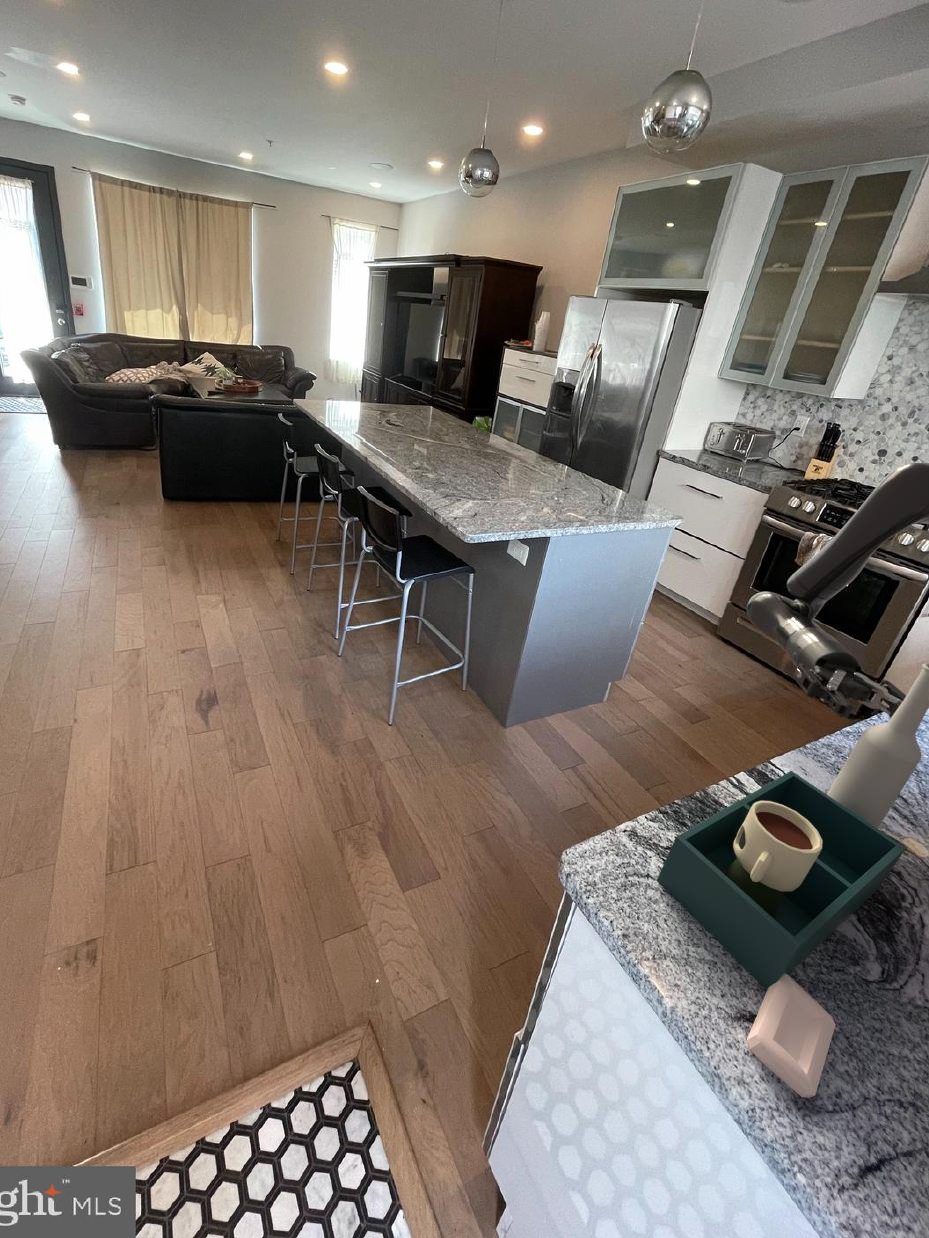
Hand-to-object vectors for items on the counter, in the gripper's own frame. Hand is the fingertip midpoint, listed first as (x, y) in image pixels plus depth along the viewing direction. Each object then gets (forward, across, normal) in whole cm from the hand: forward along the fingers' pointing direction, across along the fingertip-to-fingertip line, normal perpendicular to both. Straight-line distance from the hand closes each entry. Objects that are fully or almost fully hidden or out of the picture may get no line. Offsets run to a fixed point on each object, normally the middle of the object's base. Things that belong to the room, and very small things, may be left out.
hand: (879, 719), depth 77 cm
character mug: (+21, -20, +17) cm, 34 cm away
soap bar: (+34, -21, +18) cm, 44 cm away
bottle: (+4, 0, +17) cm, 18 cm away
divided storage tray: (+17, -15, +17) cm, 28 cm away
